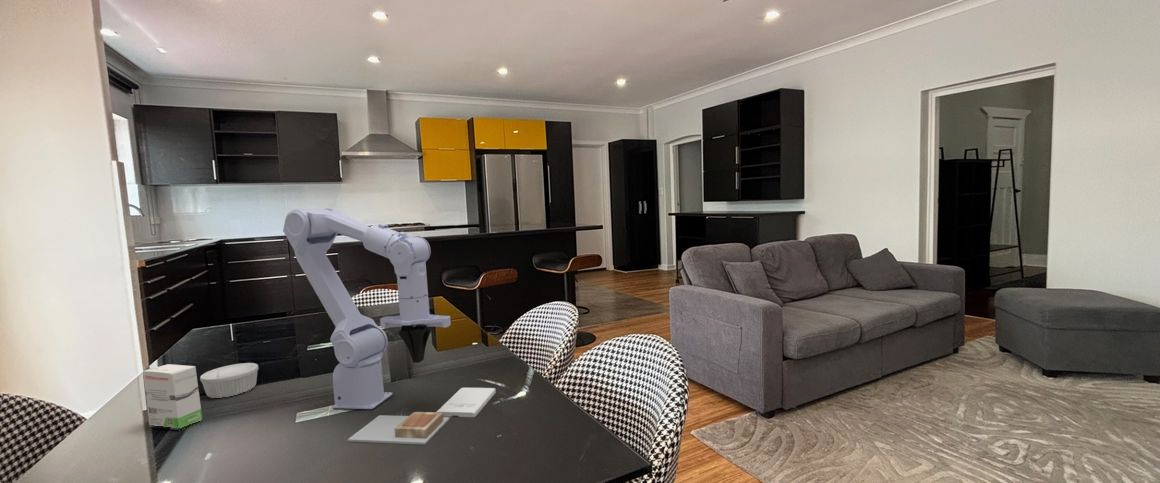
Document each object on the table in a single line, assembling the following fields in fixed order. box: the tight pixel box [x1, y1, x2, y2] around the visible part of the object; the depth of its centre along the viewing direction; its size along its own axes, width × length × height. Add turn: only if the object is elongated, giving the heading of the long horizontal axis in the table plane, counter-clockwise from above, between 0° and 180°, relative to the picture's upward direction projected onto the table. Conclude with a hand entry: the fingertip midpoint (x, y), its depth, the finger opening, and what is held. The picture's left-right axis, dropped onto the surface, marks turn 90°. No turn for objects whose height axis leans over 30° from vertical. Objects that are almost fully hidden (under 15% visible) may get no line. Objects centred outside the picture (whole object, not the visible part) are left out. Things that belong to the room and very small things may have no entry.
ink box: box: [142, 363, 203, 429], centre depth 99 cm, size 9×5×12 cm, turn 73°
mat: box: [347, 414, 451, 446], centre depth 91 cm, size 15×10×1 cm, turn 80°
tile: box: [395, 411, 444, 438], centre depth 91 cm, size 2×7×6 cm
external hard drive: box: [436, 387, 497, 418], centre depth 102 cm, size 2×8×12 cm
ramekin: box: [199, 362, 259, 399], centre depth 116 cm, size 11×11×5 cm
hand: (418, 361), depth 101 cm, fingers closed
